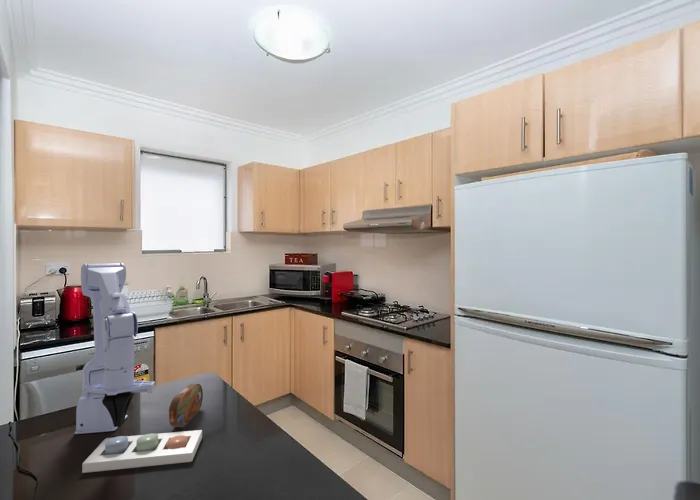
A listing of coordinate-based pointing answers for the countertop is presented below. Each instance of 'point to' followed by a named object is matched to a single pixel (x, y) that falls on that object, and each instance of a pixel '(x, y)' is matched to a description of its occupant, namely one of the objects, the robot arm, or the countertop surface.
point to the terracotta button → (177, 442)
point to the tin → (185, 405)
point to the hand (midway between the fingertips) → (119, 424)
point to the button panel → (144, 453)
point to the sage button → (147, 442)
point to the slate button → (116, 445)
